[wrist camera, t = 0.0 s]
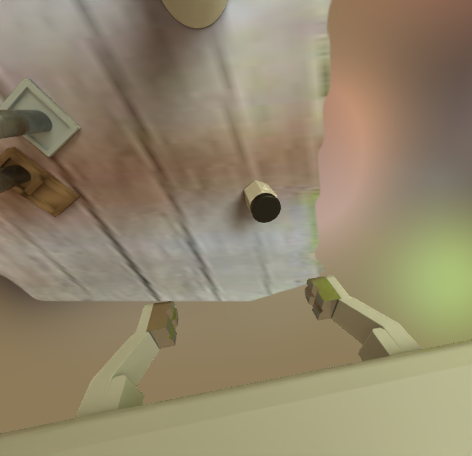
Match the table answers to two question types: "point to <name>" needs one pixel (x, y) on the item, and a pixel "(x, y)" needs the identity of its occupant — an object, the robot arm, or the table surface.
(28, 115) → the cylinder
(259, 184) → the jar
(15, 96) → the square tray
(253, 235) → the table surface
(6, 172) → the cylinder
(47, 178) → the tray
